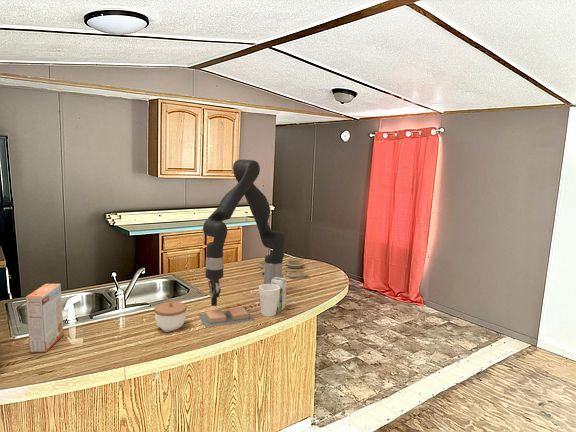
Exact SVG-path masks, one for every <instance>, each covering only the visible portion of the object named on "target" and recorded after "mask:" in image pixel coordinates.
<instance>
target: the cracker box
mask: <svg viewBox="0 0 576 432" xmlns="http://www.w3.org/2000/svg"><path fill="white" fill-rule="evenodd" d="M61 285H62V284H61V283H45V284H43V285H42V286H40V287H39V288H37V289H35V290H34V291H32V292H31V293H30V294H27V295H26V296H25V306H26V307H25V308H26V317H27V318H26V319H27V328H28V329H27V331H28V332H27V333H28V343H29V352H30V353H47V352H48V351H49V350H50V349H51V348H52V347H53V346H54V345H55V344H56V343H57V342H58V341H59V340H60V339H61V338H62V337H63V336H64V335H65V332H64V319H63V316H64V315H63V303H62V299H63V298H62V286H61Z"/></svg>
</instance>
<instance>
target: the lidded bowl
mask: <svg viewBox="0 0 576 432" xmlns="http://www.w3.org/2000/svg"><path fill="white" fill-rule="evenodd" d="M187 308H188V306H187V304H186V303H184V302H181V301H165V302H161V303H158V304H156V306H155V307H154V308H153V309H154V317H155V318H154V319H155V322H156V325H157V327H158V328H160V329H161V331H162V332H165V333H170V332H171V331H177V330H178V329H180V328H182V326H183V325H184V323H185V321H186V317H187Z"/></svg>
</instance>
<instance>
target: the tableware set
mask: <svg viewBox="0 0 576 432" xmlns="http://www.w3.org/2000/svg"><path fill="white" fill-rule="evenodd" d="M303 261H304V259H285V260H284V262H285V264H286V265H287V266H288V267H289V269H285V276H286V277H288V278H290V279H291V278H293V279H303V278H306V277H309V274H308V273H307V272H305V271H306V270H305V269H304V270H303V269H301V267H302V266H304V264H305V263H304V262H303ZM257 265H258V267H259V268H261V273H262V274H264V268H265V261H258V264H257Z"/></svg>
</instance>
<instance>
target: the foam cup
mask: <svg viewBox="0 0 576 432" xmlns="http://www.w3.org/2000/svg"><path fill="white" fill-rule="evenodd" d="M279 293H280V287H279V286H278V285H274V284H264V283H263V284H261V285H259V287H258V294H259V302H260V313H261V316H263V317H273V316H276V315H277V304H278V298H279Z"/></svg>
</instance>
